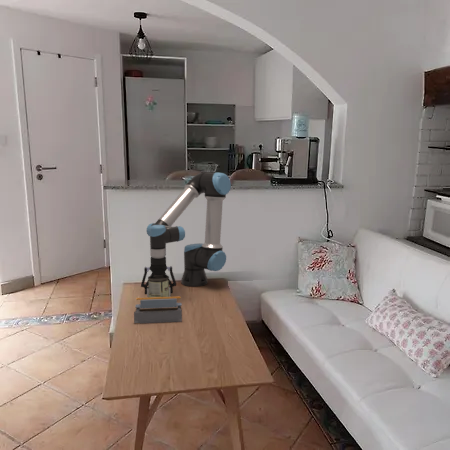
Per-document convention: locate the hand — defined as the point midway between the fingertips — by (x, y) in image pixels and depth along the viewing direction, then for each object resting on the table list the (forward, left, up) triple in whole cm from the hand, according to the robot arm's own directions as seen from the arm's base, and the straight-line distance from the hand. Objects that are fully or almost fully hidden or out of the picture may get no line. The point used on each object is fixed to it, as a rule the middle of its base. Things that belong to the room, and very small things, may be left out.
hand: (159, 299), depth 215 cm
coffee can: (0, 0, -3) cm, 3 cm away
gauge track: (0, +15, -2) cm, 15 cm away
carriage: (0, +8, -1) cm, 8 cm away
